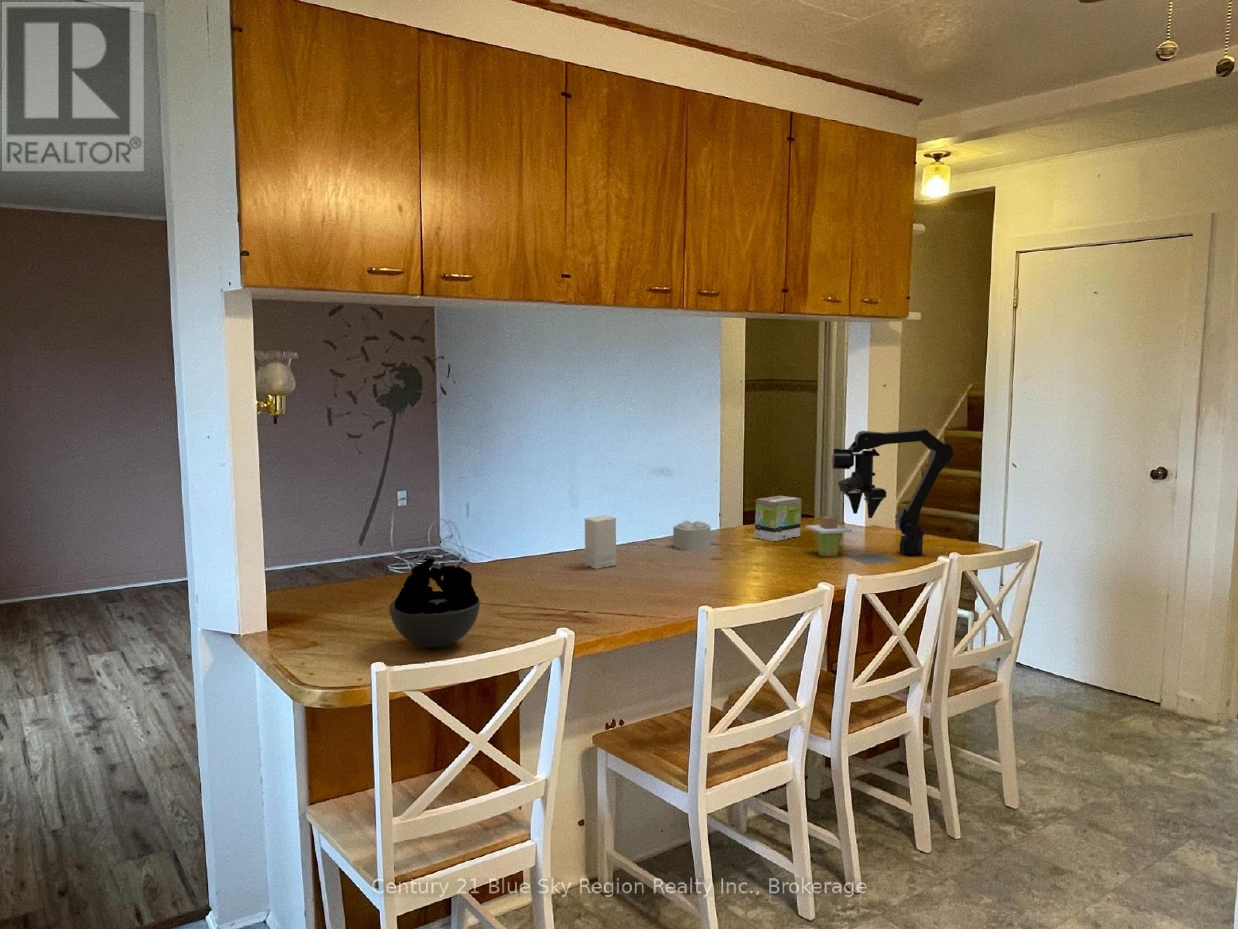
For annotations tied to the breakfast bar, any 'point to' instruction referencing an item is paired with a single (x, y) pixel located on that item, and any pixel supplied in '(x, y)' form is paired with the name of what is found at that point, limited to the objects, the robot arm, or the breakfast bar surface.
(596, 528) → the skincare box
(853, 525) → the breakfast bar surface
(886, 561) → the mat
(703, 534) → the lumpy-topped squat cylinder
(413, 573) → the coal bowl
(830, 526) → the lid
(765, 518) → the tea box
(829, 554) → the plant pot
